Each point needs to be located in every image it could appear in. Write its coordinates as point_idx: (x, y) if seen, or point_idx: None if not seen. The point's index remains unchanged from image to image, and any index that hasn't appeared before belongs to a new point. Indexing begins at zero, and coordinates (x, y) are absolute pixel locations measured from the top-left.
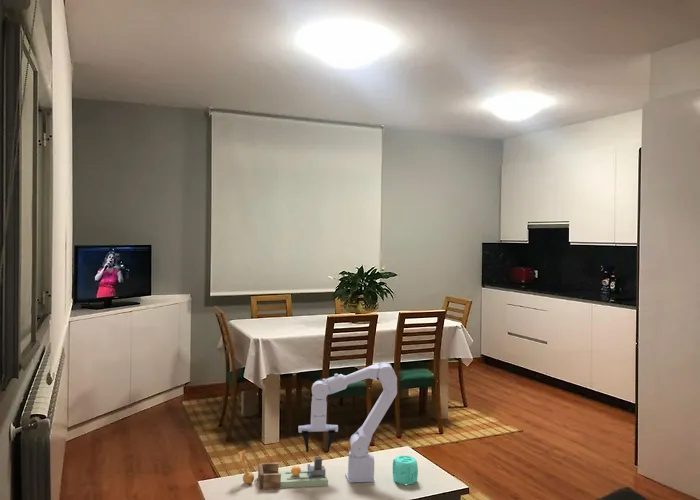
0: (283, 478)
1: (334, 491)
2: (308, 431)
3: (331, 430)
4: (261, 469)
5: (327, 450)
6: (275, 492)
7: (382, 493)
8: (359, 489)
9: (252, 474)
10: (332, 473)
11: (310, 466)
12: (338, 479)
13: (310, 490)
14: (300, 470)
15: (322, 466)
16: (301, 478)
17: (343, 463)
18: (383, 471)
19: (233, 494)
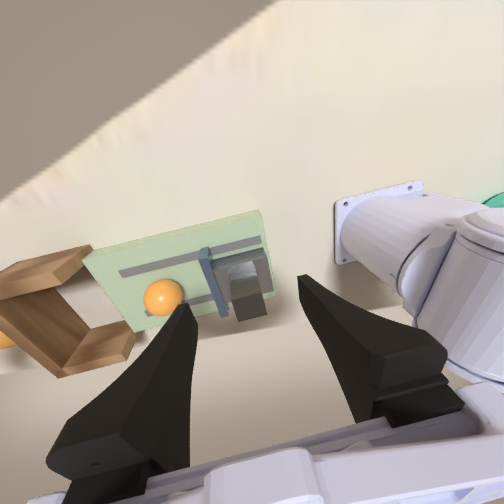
0: (132, 310)
1: (289, 311)
2: (164, 487)
3: (415, 434)
4: (27, 344)
5: (302, 306)
6: (138, 341)
7: (398, 301)
8: (352, 292)
9: (9, 338)
10: (291, 194)
11: (214, 279)
12: (307, 241)
13: (228, 317)
14: (181, 302)
15: (262, 266)
16: (193, 304)
17: (352, 57)
18: (476, 151)
19: (31, 368)
